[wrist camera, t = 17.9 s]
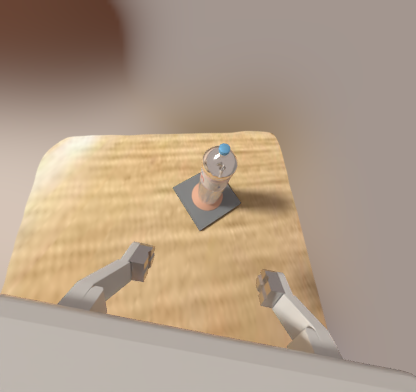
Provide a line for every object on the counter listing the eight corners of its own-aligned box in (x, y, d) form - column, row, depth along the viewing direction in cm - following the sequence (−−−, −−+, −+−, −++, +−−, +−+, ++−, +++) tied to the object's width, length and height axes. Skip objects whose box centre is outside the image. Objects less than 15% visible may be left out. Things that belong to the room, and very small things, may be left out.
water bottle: (211, 209, 46) (232, 174, 23) (193, 197, 47) (195, 152, 23) (222, 192, 49) (252, 144, 25) (205, 181, 49) (217, 123, 25)
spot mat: (240, 203, 49) (241, 202, 48) (199, 230, 45) (199, 230, 44) (213, 166, 52) (213, 164, 51) (173, 188, 48) (172, 187, 47)
